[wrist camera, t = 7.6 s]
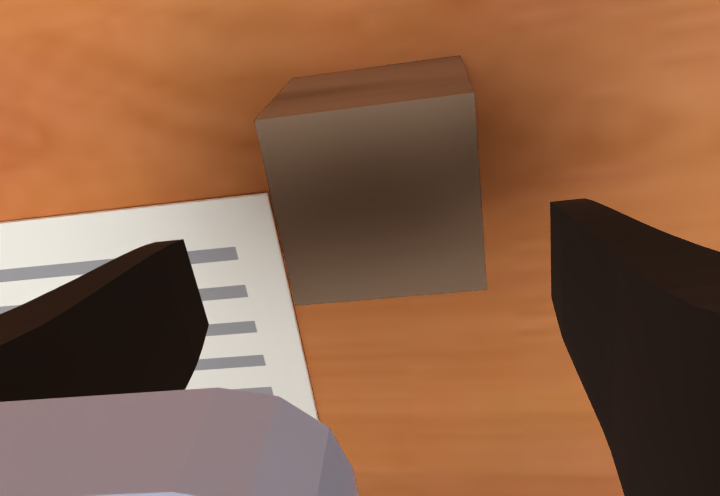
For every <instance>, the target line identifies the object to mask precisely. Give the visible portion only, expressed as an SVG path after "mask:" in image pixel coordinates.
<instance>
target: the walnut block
mask: <svg viewBox="0 0 720 496" xmlns="http://www.w3.org/2000/svg"><path fill="white" fill-rule="evenodd" d="M254 122H255V127H256V131H257V136H258V140H259V145H260V149H261V154H262V158H263V163H264V167H265V172H266V176H267V181H268V185H269V190H270V194H271V199H272V203H273V208H274V212H275V216H276V221H277V225H278V230H279V234H280V239H281V243H282V248H283V252H284V257H285V261H286V266H287V270H288V275H289V279H290V284H291V288H292V293H293V297H294V302H295V306H298V305H310V304H322V303H334V302H346V301H358V300H370V299H382V298H394V297H406V296H418V295H430V294H442V293H454V292H466V291H478V290H487V281H486V266H485V250H484V235H483V219H482V204H481V188H480V173H479V157H478V142H477V126H476V111H475V95H474V90H473V88H472V85H471V83H470V80H469V78H468V75H467V72H466V70H465V67H464V65H463V62H462V60H461V57H460V56H453V57H445V58H438V59H431V60H423V61H416V62H408V63H401V64H394V65H386V66H379V67H372V68H364V69H357V70H349V71H342V72H335V73H327V74H320V75H312V76H305V77H298V78H292V79H291V80H290V81H289V83H288V84H287V85H286V86H285V87H284V88H283V89H282V90H281V91H280V93H279V94H278V95H277V96H276V97H275V98H274V99H273V100H272V101H271V102H270V104H269V105H268V106H267V107H266V108H265V109H264V110H263V111H262V112H261V113H260V115H259V116H258V117H257V118H256V119H255V120H254Z"/></svg>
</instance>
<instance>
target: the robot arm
mask: <svg viewBox="0 0 720 496" xmlns="http://www.w3.org/2000/svg"><path fill="white" fill-rule="evenodd" d="M550 217H551V297H552V301H553V305H554V309H555V312H556V316H557V320H558V324H559V327H560V331H561V334H562V338H563V340H564V343H565V345H566V348H567V350H568V352H569V354H570V357H571V359H572V361H573V364H574V366H575V368H576V371H577V373H578V375H579V377H580V380H581V382H582V384H583V386H584V389H585V391H586V393H587V395H588V398H589V400H590V402H591V404H592V407H593V409H594V411H595V413H596V416H597V418H598V420H599V422H600V425H601V427H602V429H603V432H604V434H605V437H606V440H607V442H608V445H609V447H610V450H611V453H612V456H613V459H614V463H615V466H616V469H617V472H618V476H619V479H620V482H621V485H622V489H623V492H624V495H625V496H720V252H718V251H715V250H712V249H709V248H706V247H703V246H700V245H697V244H694V243H692V242H689V241H686V240H684V239H681V238H678V237H675V236H673V235H670V234H668V233H665V232H663V231H660V230H658V229H656V228H653V227H651V226H649V225H646V224H644V223H642V222H640V221H637V220H635V219H633V218H631V217H628V216H626V215H624V214H622V213H620V212H618V211H615V210H613V209H611V208H609V207H607V206H604V205H602V204H600V203H597V202H595V201H592V200H588V199H575V200H565V201H555V202H550ZM208 326H209V323H208V320H207V316H206V313H205V310H204V306H203V303H202V299H201V296H200V293H199V289H198V286H197V283H196V279H195V276H194V273H193V269H192V266H191V263H190V259H189V256H188V253H187V249H186V246H185V243H184V239H181V240H171V241H161V242H154V243H150V244H147V245H144V246H141V247H139V248H137V249H134V250H132V251H130V252H128V253H126V254H123V255H121V256H119V257H117V258H115V259H113V260H111V261H109V262H107V263H105V264H103V265H101V266H99V267H98V268H96V269H94V270H92V271H90V272H88V273H86V274H84V275H82V276H80V277H78V278H76V279H74V280H72V281H70V282H68V283H66V284H64V285H62V286H60V287H58V288H56V289H54V290H52V291H49V292H47V293H45V294H43V295H41V296H39V297H37V298H35V299H33V300H31V301H29V302H27V303H25V304H22V305H20V306H18V307H16V308H13V309H11V310H9V311H6V312H4V313H2V314H0V496H359V495H358V490H357V485H356V481H355V476H354V471H353V468H352V467H351V465H350V463H349V461H348V459H347V458H346V456H345V454H344V452H343V451H342V449H341V447H340V445H339V444H338V442H337V440H336V438H335V437H334V435H333V433H332V431H331V430H330V428H329V427H328V426H326V425H325V424H323V423H321V422H320V421H318V420H316V419H315V418H313V417H312V416H310V415H308V414H307V413H305V412H304V411H302V410H300V409H299V408H297V407H296V406H294V405H292V404H291V403H289V402H287V401H286V400H284V399H283V398H281V397H279V396H273V395H266V394H260V393H253V392H246V391H239V390H232V389H225V388H219V387H218V388H203V389H188V390H185V389H186V387H187V385H188V383H189V381H190V379H191V377H192V375H193V372H194V370H195V368H196V366H197V363H198V360H199V357H200V354H201V351H202V348H203V345H204V341H205V337H206V334H207V330H208Z"/></svg>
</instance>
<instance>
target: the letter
mask: <svg viewBox="0 0 720 496" xmlns="http://www.w3.org/2000/svg"><path fill="white" fill-rule="evenodd" d="M181 239H184V243H185V246H186V249H187V253H188V256H189V259H190V263H191V266H192V269H193V273H194V276H195V279H196V283H197V286H198V289H199V293H200V296H201V299H202V303H203V306H204V310H205V313H206V316H207V320H208V323H209V326H208V330H207V334H206V337H205V341H204V345H203V348H202V351H201V354H200V357H199V360H198V363H197V366H196V368H195V370H194V372H193V375H192V377H191V379H190V381H189V383H188V385H187V387H186V389H185V390H188V389H203V388H218V387H219V388H225V389H232V390H239V391H246V392H253V393H260V394H266V395H273V396H279V397H281V398H283V399H284V400H286V401H287V402H289V403H291V404H292V405H294V406H296V407H297V408H299V409H300V410H302V411H304V412H305V413H307V414H308V415H310V416H312V417H313V418H315V419H316V420H318V421H319V418H318V414H317V410H316V405H315V401H314V396H313V392H312V387H311V383H310V378H309V374H308V369H307V365H306V360H305V356H304V351H303V347H302V342H301V338H300V333H299V329H298V324H297V320H296V315H295V311H294V306H293V302H292V297H291V293H290V288H289V284H288V280H287V275H286V271H285V266H284V262H283V257H282V253H281V248H280V244H279V239H278V235H277V230H276V226H275V221H274V217H273V212H272V208H271V203H270V199H269V194H268V193H259V194H250V195H240V196H231V197H222V198H213V199H204V200H195V201H186V202H177V203H168V204H159V205H150V206H141V207H132V208H122V209H113V210H104V211H95V212H86V213H77V214H68V215H59V216H50V217H41V218H32V219H23V220H14V221H4V222H0V314H2V313H4V312H6V311H9V310H11V309H13V308H16V307H18V306H20V305H22V304H25V303H27V302H29V301H31V300H33V299H35V298H37V297H39V296H41V295H43V294H45V293H47V292H49V291H52V290H54V289H56V288H58V287H60V286H62V285H64V284H66V283H68V282H70V281H72V280H74V279H76V278H78V277H80V276H82V275H84V274H86V273H88V272H90V271H92V270H94V269H96V268H98V267H99V266H101V265H103V264H105V263H107V262H109V261H111V260H113V259H115V258H117V257H119V256H121V255H123V254H126V253H128V252H130V251H132V250H134V249H137V248H139V247H141V246H144V245H147V244H150V243H154V242H161V241H171V240H181Z"/></svg>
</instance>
